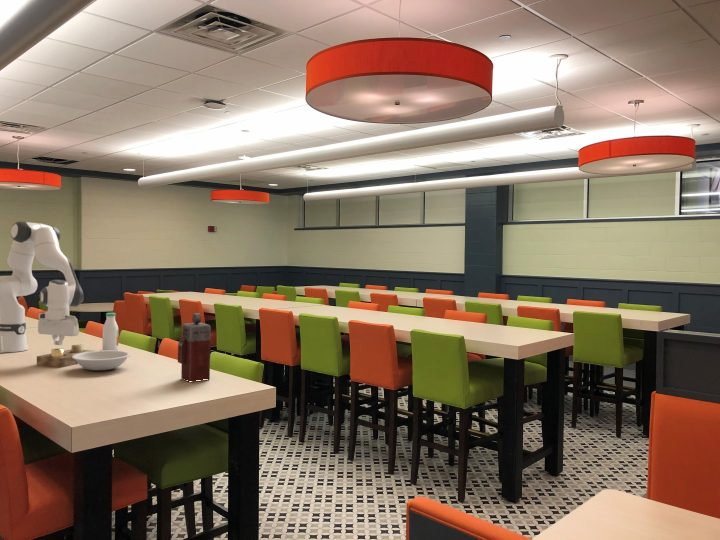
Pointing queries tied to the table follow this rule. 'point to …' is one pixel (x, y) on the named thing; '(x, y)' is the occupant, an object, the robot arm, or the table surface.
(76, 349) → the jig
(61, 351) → the bushing
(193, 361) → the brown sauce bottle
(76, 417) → the table surface
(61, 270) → the robot arm
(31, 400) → the table surface
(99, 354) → the soup bowl
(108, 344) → the milk bottle
